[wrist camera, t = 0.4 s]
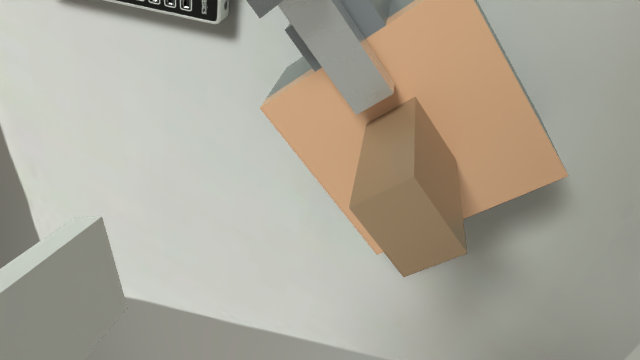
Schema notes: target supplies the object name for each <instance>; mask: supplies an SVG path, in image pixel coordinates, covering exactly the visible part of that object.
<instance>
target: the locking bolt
mask: <svg viewBox="0 0 640 360" xmlns="http://www.w3.org/2000/svg"><path fill="white" fill-rule="evenodd" d="M247 2H248V3H249V4H250V6H251V7H252V8H253V10H254V11H255V12H256V14H257V15H258V17H259V18H261V17H262V16H264V15H265V14H266V13H268V12H269V11H270V10H272V9H273V8H274V7H275V6H277V5H278V6H279V7H280V9H281V10H282V12H283V13H284V14H285V16H286V17H287V19H288V20H289V21H290V23H291V24H292V26H293V27H294V28H295V30H296V31H297V33H298V34H299V35H300V37H301V38H302V40H303V41H304V42H305V44H306V45H307V47H308V48H309V50H310V51H311V52H312V54H313V55H314V57H315V58H316V59H317V61H318V62H319V64H320V65H321V66H322V68H323V69H324V71H325V72H326V73H327V75H328V76H329V78H330V79H331V80H332V82H333V83H334V85H335V86H336V87H337V89H338V90H339V92H340V93H341V94H342V96H343V97H344V99H345V100H346V101H347V103H348V104H349V106H350V107H351V108H352V110H353V111H354V113H355V114H356V115H357V114H359V113H361V112H362V111H364V110H366V109H368V108H369V107H371V106H373V105H374V104H376V103H378V102H380V101H381V100H383V99H385V98H387V97H388V96H390V95H392V94H393V93H394V84H395V83H394V82H393V80H392V79H391V77H390V76H389V74H388V73H387V71H386V70H385V68H384V67H383V65H382V64H381V62H380V61H379V59H378V57H377V56H376V54H375V53H374V51H373V50H372V48H371V47H370V45H369V44H368V42H367V41H366V39H365V38H364V36H363V35H362V33H361V32H360V30H359V28H358V27H357V25H356V24H355V22H354V21H353V19H352V18H351V16H350V15H349V13H348V12H347V10H346V9H345V7H344V6H343V4H342V3H341V1H340V0H247Z"/></svg>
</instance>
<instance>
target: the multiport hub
mask: <svg viewBox="0 0 640 360" xmlns="http://www.w3.org/2000/svg"><path fill="white" fill-rule="evenodd" d="M104 1H109V2H113V3H118V4H123V5H127V6H132V7H136V8H141V9H146V10H150V11H155V12H160V13H164V14H169V15H173V16H178V17H183V18H187V19H192V20H197V21H201V22H206V23H210V24H218V23H219V22H221V21H222V20H223V19H224V18H226V17H227V16H228V14H229V0H104Z"/></svg>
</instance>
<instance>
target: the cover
mask: <svg viewBox="0 0 640 360" xmlns="http://www.w3.org/2000/svg"><path fill="white" fill-rule="evenodd" d="M366 41H367V42H368V44H369V45H370V47H371V48H372V50H373V51H374V53H375V54H376V56H377V57H378V59H379V61H380V62H381V64H382V65H383V67H384V68H385V70H386V71H387V73H388V74H389V76H390V77H391V79H392V80H393V82H394V83H395V84H394V93H393V94H392V95H390V96H388V97H387V98H385V99H383V100H381V101H380V102H378V103H376V104H374V105H373V106H371V107H369V108H368V109H366V110H364V111H362V112H361V113H359V114H357V115H356V114H355V113H354V111H353V110H352V108H351V107H350V106H349V104H348V103H347V101H346V100H345V99H344V97H343V96H342V94H341V93H340V92H339V90H338V89H337V87H336V86H335V85H334V83H333V82H332V80H331V79H330V78H329V76H328V75H327V73H326V72H325V71H324V69H323V68H320V69H319V70H317V71H316V72H315V71H314V70H313V69H310V70H309V71H307V72H306V73H304V74H303V75H301V76H300V77H298V78H297V79H295V80H294V81H292V82H291V83H289V84H288V85H286V86H285V87H283V88H282V89H280V90H279V91H277V92H276V93H274V94H273V95H271V96H270V97H268V98H267V99H266V100H265V101H264V103H263V104H262V106H261V107H260V109H261V110H262V112H263V113H264V114H265V115H266V117H267V118H268V119H269V120H270V122H271V123H272V124H273V125H274V127H275V128H276V129H277V130H278V132H279V133H280V134H281V135H282V137H283V138H284V139H285V140H286V142H287V143H288V144H289V145H290V147H291V148H292V149H293V150H294V152H295V153H296V154H297V155H298V157H299V158H300V159H301V160H302V162H303V163H304V164H305V165H306V167H307V168H308V169H309V170H310V172H311V173H312V174H313V175H314V177H315V178H316V179H317V180H318V182H319V183H320V184H321V185H322V187H323V188H324V189H325V190H326V192H327V193H328V194H329V195H330V197H331V198H332V199H333V200H334V202H335V203H336V204H337V205H338V207H339V208H340V209H341V210H342V212H343V213H344V214H345V215H346V217H347V218H348V219H349V220H350V222H351V223H352V224H353V225H354V227H355V228H356V229H357V230H358V232H359V233H360V234H361V235H362V237H363V238H364V239H365V240H366V242H367V243H368V244H369V245H370V247H371V248H372V249H373V250H374V252H375V253H376V254H377V255H378V254H380V253H383V252H384V253H385V254H386V256H387V257H388V258H389V259H390V261H391V262H392V263H393V264H394V266H395V267H396V268H397V269H398V271H399V272H400V273H401V275H402V276H403V277H406V276H408V275H411V274H414V273H416V272H419V271H422V270H424V269H427V268H429V267H432V266H435V265H437V264H440V263H443V262H445V261H448V260H451V259H453V258H456V257H459V256H461V255H464V254H467V247H466V239H465V231H464V222H463V219H465V218H467V217H470V216H472V215H475V214H477V213H480V212H482V211H484V210H487V209H489V208H492V207H494V206H497V205H499V204H501V203H504V202H506V201H509V200H511V199H514V198H516V197H518V196H521V195H523V194H526V193H528V192H531V191H533V190H535V189H538V188H540V187H543V186H545V185H548V184H550V183H552V182H555V181H557V180H560V179H562V178H565V177H567V176H568V174H567V172H566V170H565V168H564V166H563V164H562V162H561V160H560V158H559V156H558V155H557V153H556V151H555V149H554V147H553V145H552V143H551V142H550V140H549V138H548V136H547V134H546V132H545V130H544V129H543V127H542V125H541V123H540V121H539V119H538V117H537V116H536V114H535V112H534V110H533V108H532V106H531V104H530V103H529V101H528V99H527V97H526V95H525V93H524V91H523V90H522V88H521V86H520V84H519V82H518V80H517V79H516V77H515V75H514V73H513V71H512V69H511V67H510V66H509V64H508V62H507V60H506V58H505V56H504V54H503V53H502V51H501V49H500V47H499V45H498V43H497V41H496V40H495V38H494V36H493V34H492V32H491V30H490V28H489V27H488V25H487V23H486V21H485V19H484V17H483V15H482V14H481V12H480V10H479V8H478V6H477V4H476V2H475V1H474V0H415V1H413V2H412V3H410V4H409V5H407V6H406V7H404V8H403V9H401V10H400V11H398V12H397V13H395V14H394V15H392V16H391V17H389V18H388V19H387V23H386V26H385V27H383V28H381V29H380V30H378V31H377V32H375V33H374V34H372V35H371V36H369V37H368V38H366Z"/></svg>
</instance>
